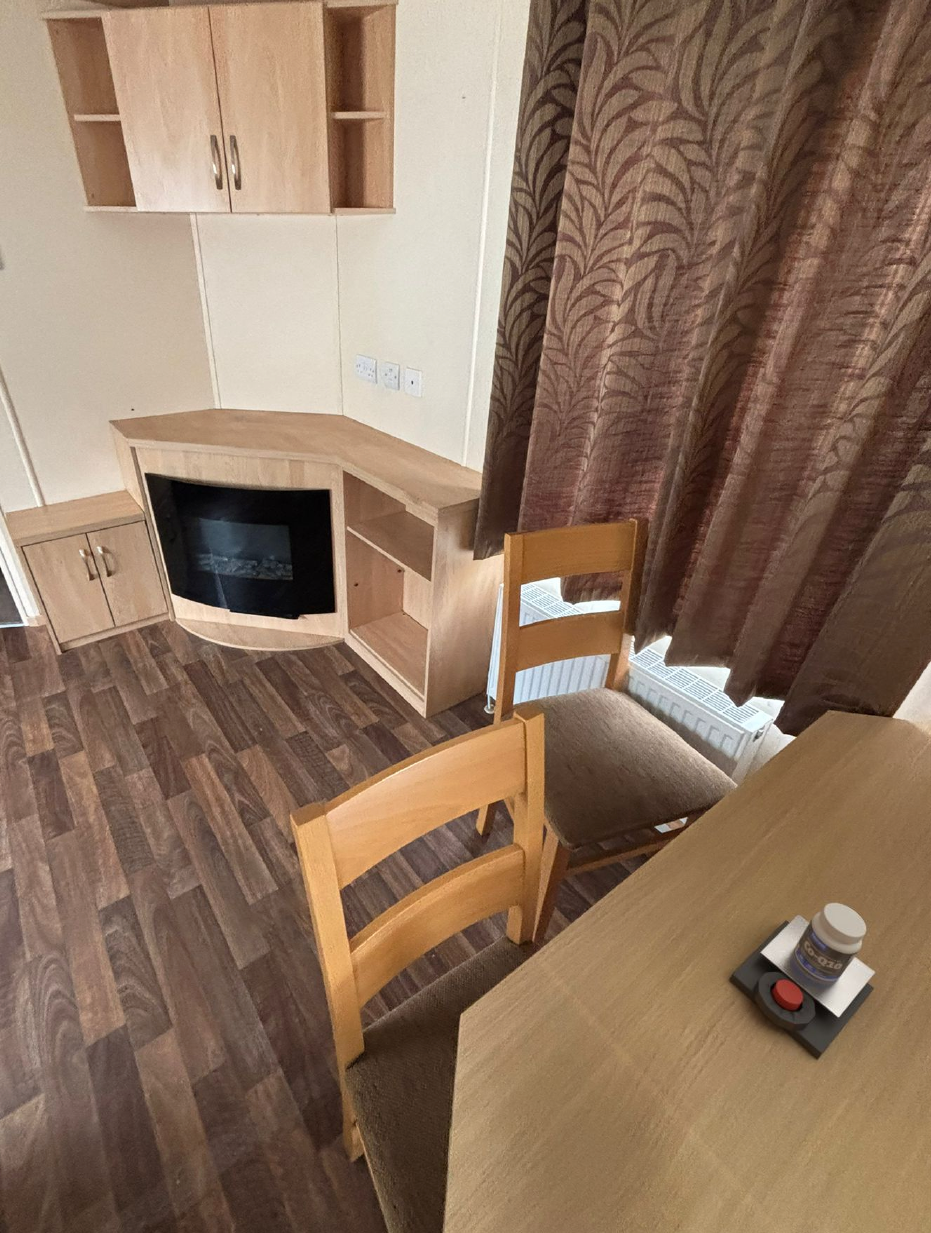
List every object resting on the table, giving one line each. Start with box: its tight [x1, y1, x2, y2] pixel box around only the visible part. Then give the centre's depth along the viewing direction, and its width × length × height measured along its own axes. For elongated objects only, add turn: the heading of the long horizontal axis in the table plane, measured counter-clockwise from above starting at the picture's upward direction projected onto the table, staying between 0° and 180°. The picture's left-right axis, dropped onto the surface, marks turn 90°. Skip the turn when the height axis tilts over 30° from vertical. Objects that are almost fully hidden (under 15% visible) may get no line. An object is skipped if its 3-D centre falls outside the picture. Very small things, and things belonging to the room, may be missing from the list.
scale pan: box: [760, 913, 876, 1019], centre depth 71 cm, size 9×9×1 cm
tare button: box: [772, 980, 803, 1011], centre depth 68 cm, size 3×3×1 cm
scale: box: [729, 920, 875, 1060], centre depth 70 cm, size 13×10×3 cm
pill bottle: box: [795, 902, 867, 981], centre depth 68 cm, size 5×5×8 cm
